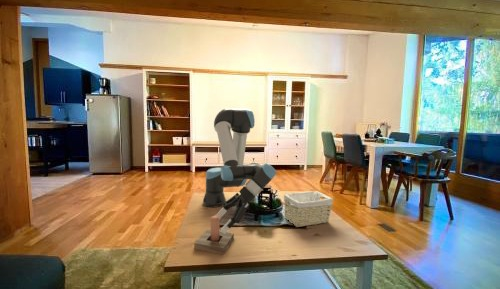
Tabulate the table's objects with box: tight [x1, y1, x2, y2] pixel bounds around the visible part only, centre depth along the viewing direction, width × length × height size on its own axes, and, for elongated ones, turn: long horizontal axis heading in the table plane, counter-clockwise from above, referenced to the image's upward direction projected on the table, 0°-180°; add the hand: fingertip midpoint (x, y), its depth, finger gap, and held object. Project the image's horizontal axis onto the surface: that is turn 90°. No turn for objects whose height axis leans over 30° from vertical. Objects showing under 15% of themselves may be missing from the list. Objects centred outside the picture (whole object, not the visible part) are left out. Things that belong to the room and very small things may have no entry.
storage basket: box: [283, 190, 334, 228], centre depth 150 cm, size 24×16×15 cm
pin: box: [210, 215, 221, 242], centre depth 121 cm, size 4×4×13 cm
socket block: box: [193, 229, 235, 255], centre depth 122 cm, size 14×14×3 cm
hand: (218, 225), depth 121 cm, fingers open, 13 cm apart
